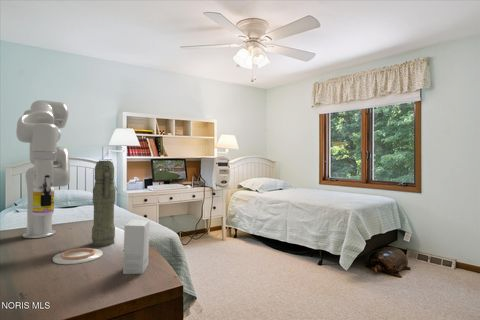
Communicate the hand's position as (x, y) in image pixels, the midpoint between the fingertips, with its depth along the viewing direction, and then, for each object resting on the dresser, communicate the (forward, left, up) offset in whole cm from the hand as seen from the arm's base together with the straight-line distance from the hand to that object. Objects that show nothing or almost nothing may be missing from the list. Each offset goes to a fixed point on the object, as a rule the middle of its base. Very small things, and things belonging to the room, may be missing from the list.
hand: (43, 204), depth 111 cm
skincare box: (+37, +19, -19) cm, 46 cm away
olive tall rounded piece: (0, +22, -19) cm, 29 cm away
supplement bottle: (0, 0, -4) cm, 4 cm away
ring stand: (+11, +9, -19) cm, 24 cm away
